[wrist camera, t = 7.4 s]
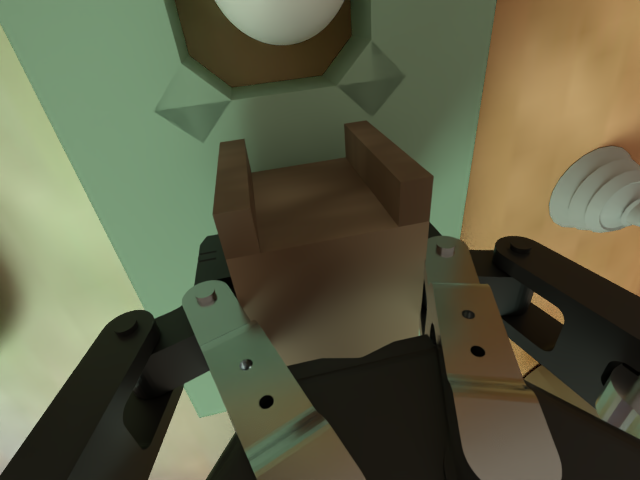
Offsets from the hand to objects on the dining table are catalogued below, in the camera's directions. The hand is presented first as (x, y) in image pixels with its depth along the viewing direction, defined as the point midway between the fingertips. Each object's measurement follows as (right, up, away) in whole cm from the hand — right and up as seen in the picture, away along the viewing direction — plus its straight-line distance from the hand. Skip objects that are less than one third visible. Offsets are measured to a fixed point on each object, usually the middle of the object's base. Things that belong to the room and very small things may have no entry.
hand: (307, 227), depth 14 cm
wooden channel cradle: (0, 0, 0) cm, 0 cm away
